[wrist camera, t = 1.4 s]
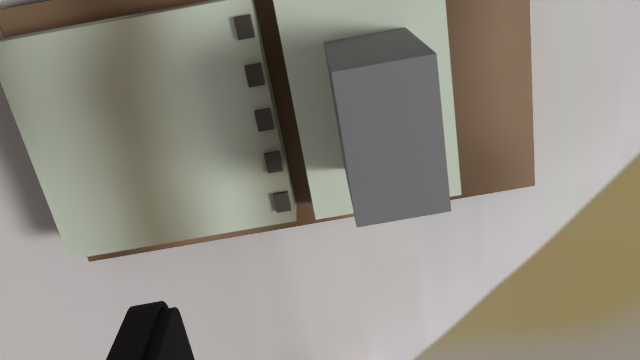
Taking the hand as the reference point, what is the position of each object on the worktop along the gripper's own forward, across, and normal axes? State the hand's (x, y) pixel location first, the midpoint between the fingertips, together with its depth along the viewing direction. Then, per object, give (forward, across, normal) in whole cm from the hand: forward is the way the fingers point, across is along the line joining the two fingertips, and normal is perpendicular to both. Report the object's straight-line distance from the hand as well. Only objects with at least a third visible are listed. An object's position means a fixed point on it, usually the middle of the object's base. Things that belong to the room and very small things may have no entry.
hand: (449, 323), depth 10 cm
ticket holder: (+16, +3, -1) cm, 16 cm away
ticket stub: (+15, -1, -1) cm, 15 cm away
